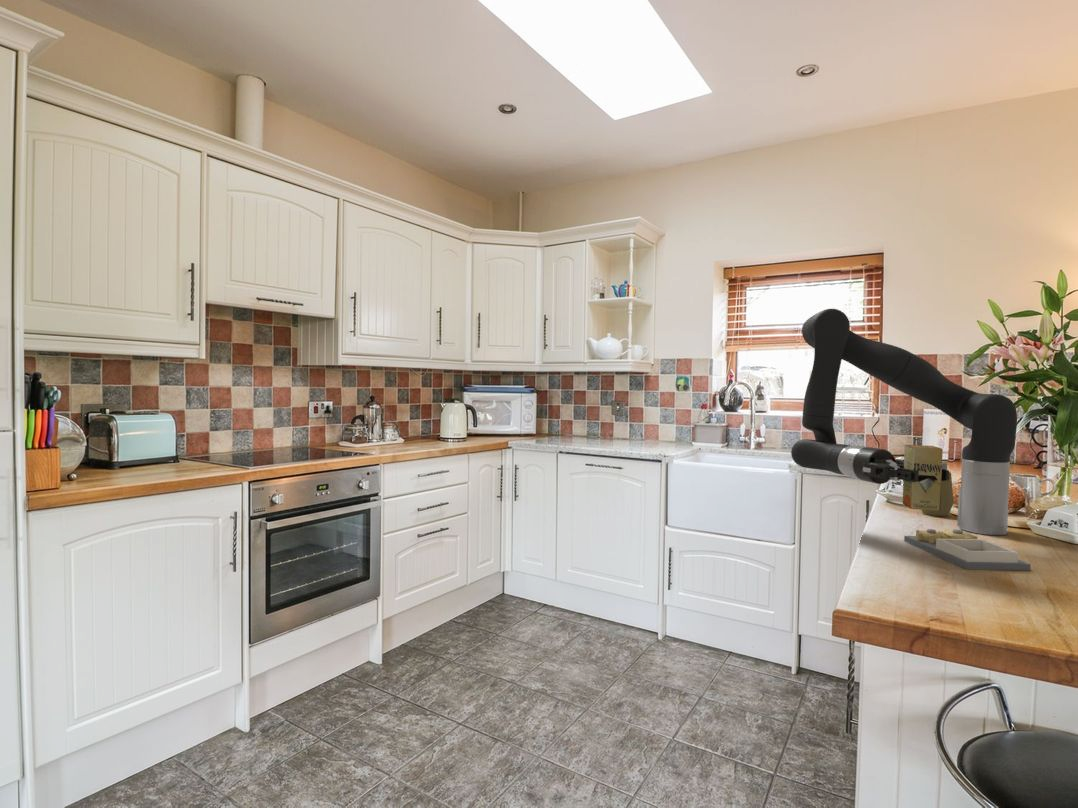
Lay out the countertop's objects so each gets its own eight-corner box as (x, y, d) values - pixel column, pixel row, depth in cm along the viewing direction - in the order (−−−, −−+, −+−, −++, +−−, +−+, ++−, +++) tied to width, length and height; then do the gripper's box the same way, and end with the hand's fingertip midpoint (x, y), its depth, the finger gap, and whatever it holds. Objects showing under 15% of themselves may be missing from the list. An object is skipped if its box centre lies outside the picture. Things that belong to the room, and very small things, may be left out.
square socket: (935, 547, 121) (936, 538, 121) (982, 548, 121) (982, 539, 121) (967, 561, 112) (967, 551, 112) (1017, 562, 111) (1018, 552, 111)
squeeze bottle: (926, 517, 156) (928, 450, 155) (912, 510, 164) (914, 447, 163) (959, 518, 154) (961, 451, 154) (943, 512, 162) (945, 447, 162)
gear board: (904, 541, 131) (904, 525, 131) (959, 542, 131) (960, 526, 130) (965, 569, 111) (966, 550, 111) (1031, 570, 111) (1032, 551, 110)
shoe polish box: (902, 503, 118) (904, 444, 118) (930, 505, 117) (932, 445, 116) (911, 508, 113) (913, 447, 113) (940, 510, 112) (942, 448, 112)
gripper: (838, 447, 127) (902, 457, 111) (893, 446, 130) (963, 456, 114) (837, 481, 127) (901, 496, 111) (892, 479, 131) (961, 494, 114)
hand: (932, 476), depth 113 cm, fingers closed on shoe polish box, 6 cm apart
